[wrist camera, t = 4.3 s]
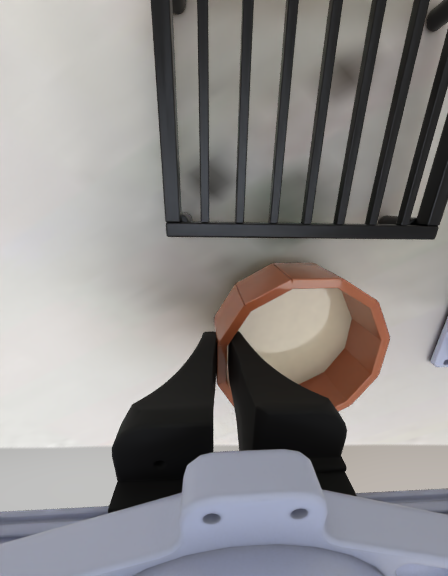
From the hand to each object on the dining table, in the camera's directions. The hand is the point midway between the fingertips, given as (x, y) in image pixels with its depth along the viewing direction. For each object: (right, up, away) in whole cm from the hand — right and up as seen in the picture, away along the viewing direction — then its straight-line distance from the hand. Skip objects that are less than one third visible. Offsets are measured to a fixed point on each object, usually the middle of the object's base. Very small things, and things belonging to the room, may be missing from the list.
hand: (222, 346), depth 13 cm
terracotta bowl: (+4, +1, +2) cm, 4 cm away
